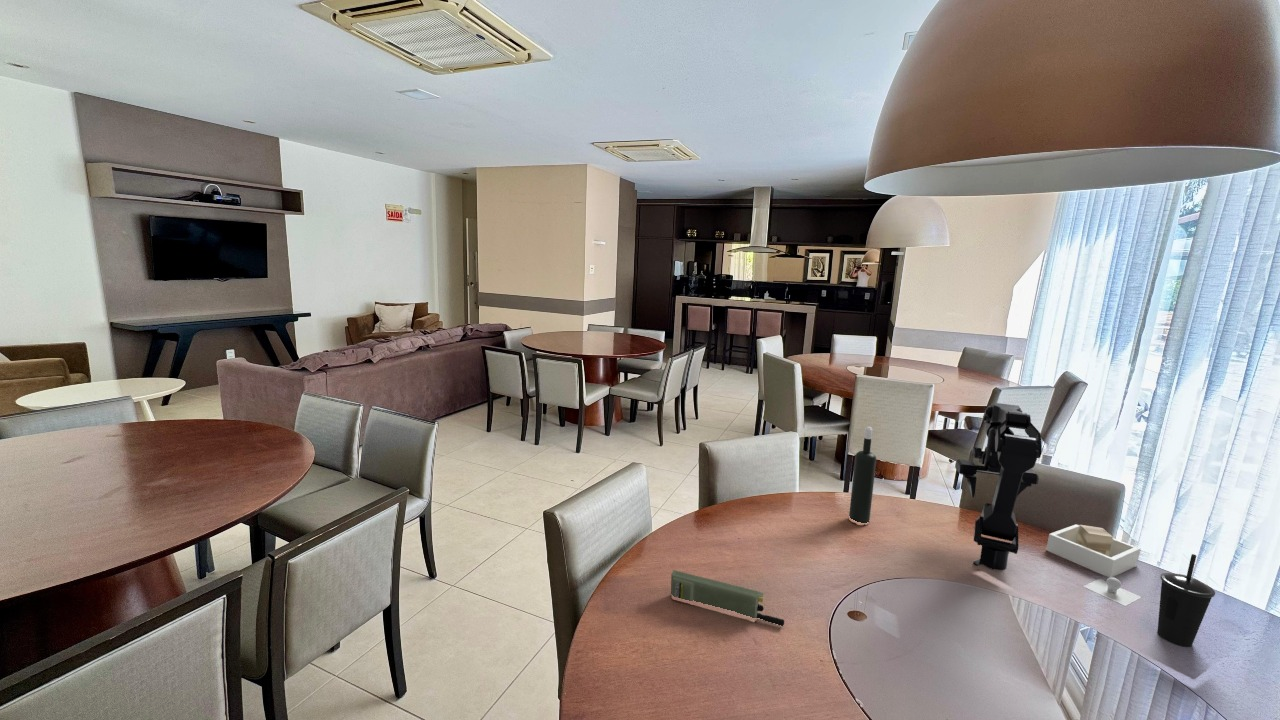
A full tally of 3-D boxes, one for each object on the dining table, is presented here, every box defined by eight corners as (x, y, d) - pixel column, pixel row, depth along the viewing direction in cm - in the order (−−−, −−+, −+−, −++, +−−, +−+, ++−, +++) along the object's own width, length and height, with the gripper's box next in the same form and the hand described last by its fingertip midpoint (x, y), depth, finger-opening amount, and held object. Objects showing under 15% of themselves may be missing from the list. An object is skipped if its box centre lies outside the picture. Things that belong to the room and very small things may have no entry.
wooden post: (1107, 565, 132) (1112, 536, 131) (1083, 561, 134) (1089, 533, 133) (1097, 555, 137) (1102, 528, 136) (1074, 551, 139) (1079, 524, 137)
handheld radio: (674, 593, 118) (784, 623, 108) (669, 602, 115) (782, 633, 105) (674, 567, 116) (786, 595, 107) (670, 575, 113) (784, 605, 104)
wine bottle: (851, 525, 152) (861, 429, 147) (846, 516, 158) (856, 423, 153) (871, 527, 151) (882, 430, 146) (866, 518, 157) (876, 425, 152)
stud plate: (1124, 610, 116) (1128, 592, 115) (1081, 590, 123) (1085, 573, 122) (1140, 601, 119) (1144, 583, 118) (1098, 583, 126) (1102, 565, 125)
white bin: (1109, 582, 127) (1114, 560, 126) (1045, 554, 139) (1049, 533, 138) (1136, 569, 133) (1140, 548, 132) (1072, 543, 145) (1076, 524, 144)
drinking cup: (1207, 662, 100) (1230, 570, 97) (1154, 646, 104) (1174, 557, 101) (1192, 639, 107) (1213, 552, 103) (1142, 625, 111) (1161, 541, 107)
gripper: (1027, 443, 146) (1019, 494, 149) (954, 434, 152) (947, 483, 155) (1043, 455, 136) (1034, 510, 139) (963, 446, 142) (956, 498, 145)
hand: (991, 499), depth 144 cm, fingers open, 9 cm apart
